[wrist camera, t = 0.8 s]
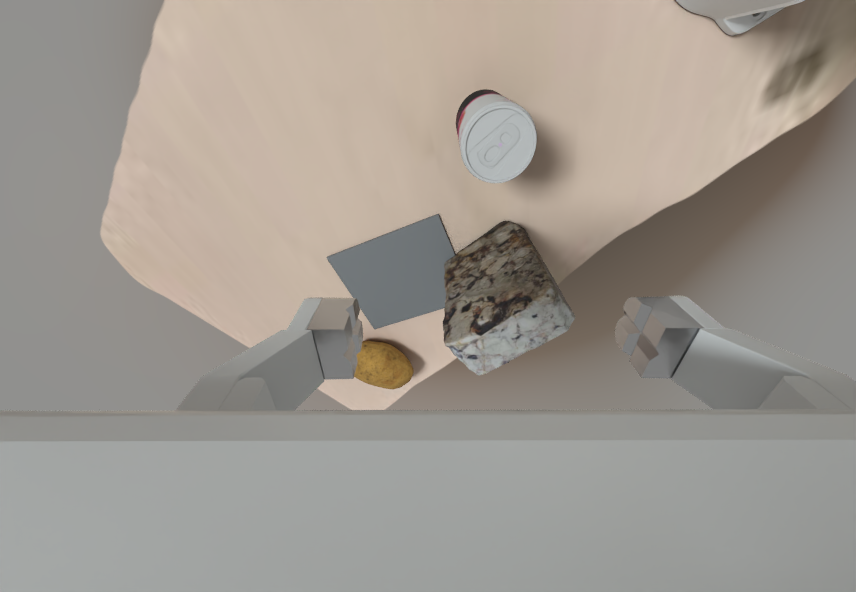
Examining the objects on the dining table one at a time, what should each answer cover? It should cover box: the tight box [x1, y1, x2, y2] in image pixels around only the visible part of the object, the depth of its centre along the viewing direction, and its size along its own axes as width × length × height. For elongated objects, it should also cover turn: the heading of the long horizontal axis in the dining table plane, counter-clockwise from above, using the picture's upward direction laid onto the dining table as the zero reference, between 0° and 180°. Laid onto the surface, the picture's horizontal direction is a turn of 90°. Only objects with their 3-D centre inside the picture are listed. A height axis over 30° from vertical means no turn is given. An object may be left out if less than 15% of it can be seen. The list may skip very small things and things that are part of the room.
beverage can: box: [456, 90, 537, 183], centre depth 34 cm, size 6×7×15 cm
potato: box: [354, 341, 413, 389], centre depth 61 cm, size 9×13×7 cm
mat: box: [327, 214, 455, 329], centre depth 54 cm, size 19×16×1 cm
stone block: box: [443, 221, 575, 375], centre depth 42 cm, size 13×7×20 cm, turn 133°
